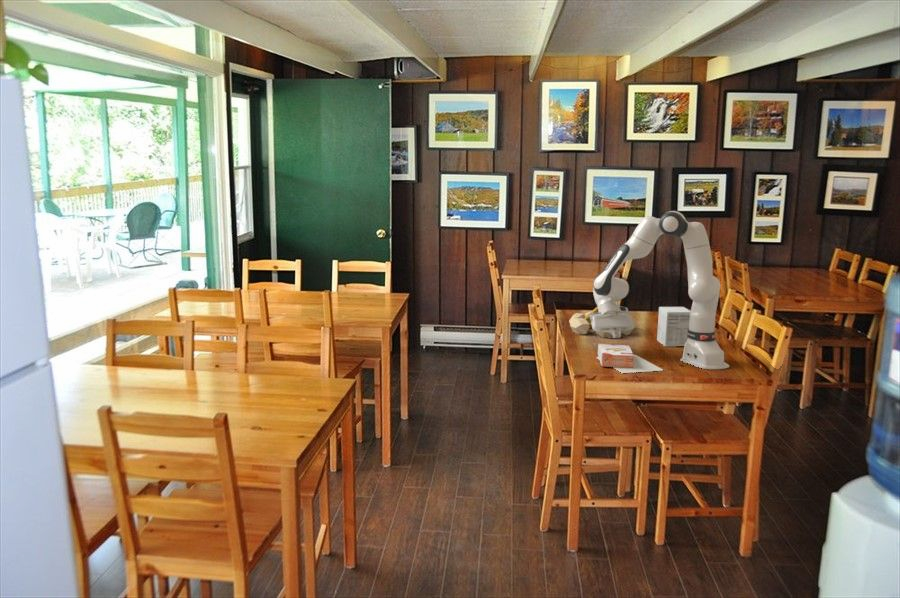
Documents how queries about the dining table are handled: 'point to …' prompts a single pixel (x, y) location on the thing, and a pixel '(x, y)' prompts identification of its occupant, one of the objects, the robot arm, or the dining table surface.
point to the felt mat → (638, 366)
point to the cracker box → (615, 355)
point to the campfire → (590, 324)
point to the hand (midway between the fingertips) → (617, 337)
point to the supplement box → (673, 326)
